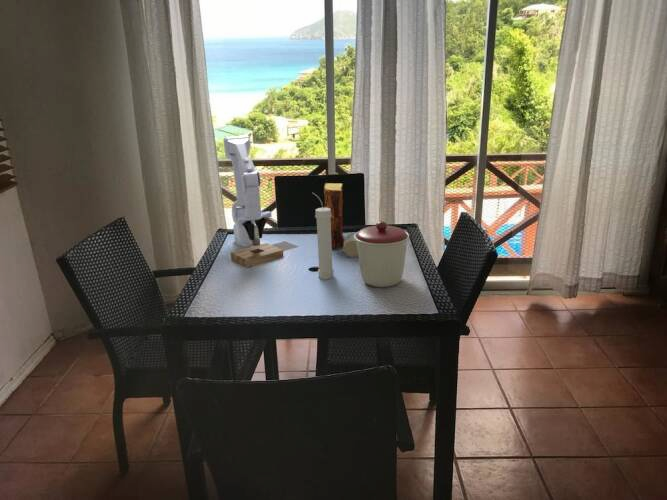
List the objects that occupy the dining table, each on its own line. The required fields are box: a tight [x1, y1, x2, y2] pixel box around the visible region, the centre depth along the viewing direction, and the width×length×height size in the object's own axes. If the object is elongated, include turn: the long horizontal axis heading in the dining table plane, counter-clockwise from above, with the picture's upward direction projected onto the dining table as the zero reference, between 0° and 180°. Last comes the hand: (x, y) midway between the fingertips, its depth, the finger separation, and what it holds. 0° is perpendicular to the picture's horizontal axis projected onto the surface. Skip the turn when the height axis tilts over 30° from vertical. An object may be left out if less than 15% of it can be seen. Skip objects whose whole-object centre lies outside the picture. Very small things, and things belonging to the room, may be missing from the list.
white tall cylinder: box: [311, 192, 335, 280], centre depth 188 cm, size 6×6×30 cm
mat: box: [271, 240, 300, 252], centre depth 224 cm, size 10×10×1 cm
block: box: [230, 242, 284, 269], centre depth 212 cm, size 12×16×3 cm
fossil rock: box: [323, 182, 345, 250], centre depth 223 cm, size 24×8×24 cm, turn 176°
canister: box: [354, 220, 410, 288], centre depth 183 cm, size 18×18×21 cm
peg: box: [251, 223, 261, 246], centre depth 210 cm, size 3×3×8 cm
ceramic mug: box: [342, 232, 358, 259], centre depth 211 cm, size 11×8×8 cm
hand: (255, 238), depth 210 cm, fingers closed on peg, 3 cm apart
